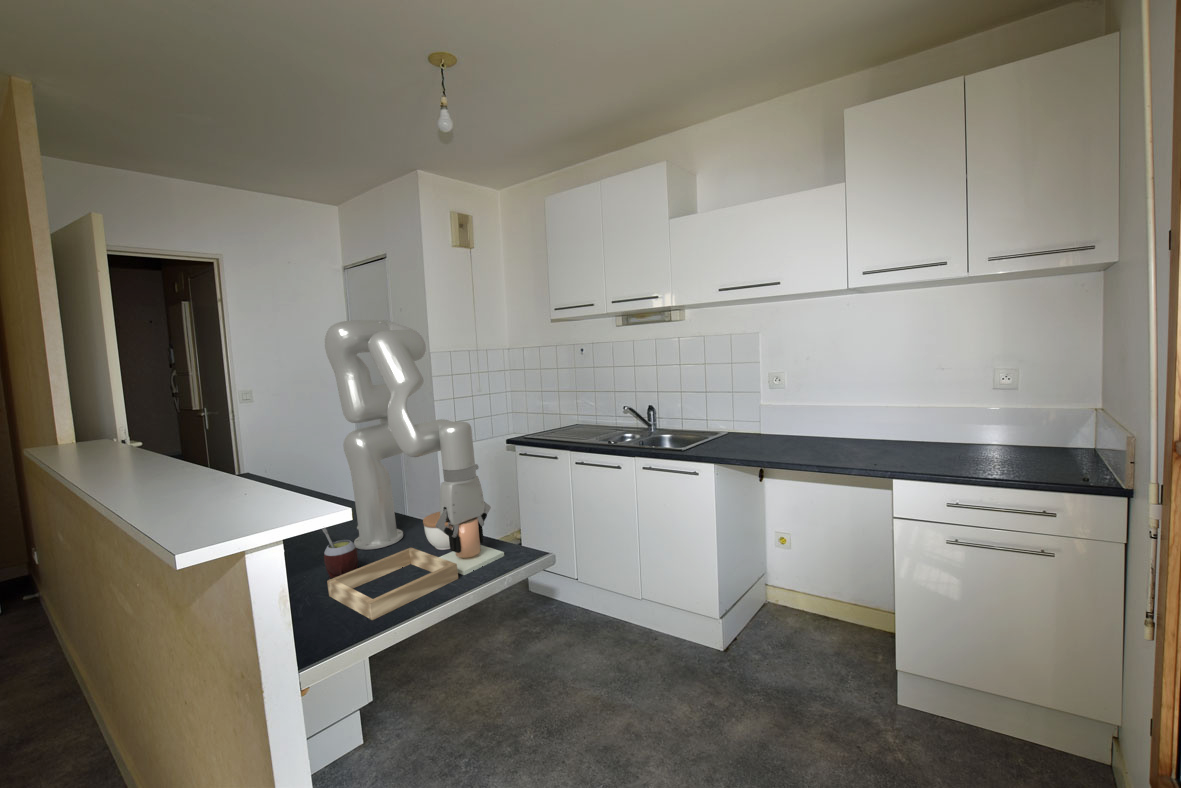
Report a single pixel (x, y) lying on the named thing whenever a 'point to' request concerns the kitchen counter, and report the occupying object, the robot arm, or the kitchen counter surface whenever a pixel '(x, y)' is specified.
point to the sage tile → (473, 559)
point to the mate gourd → (340, 557)
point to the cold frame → (398, 597)
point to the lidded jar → (435, 532)
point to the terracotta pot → (469, 538)
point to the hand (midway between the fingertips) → (467, 545)
